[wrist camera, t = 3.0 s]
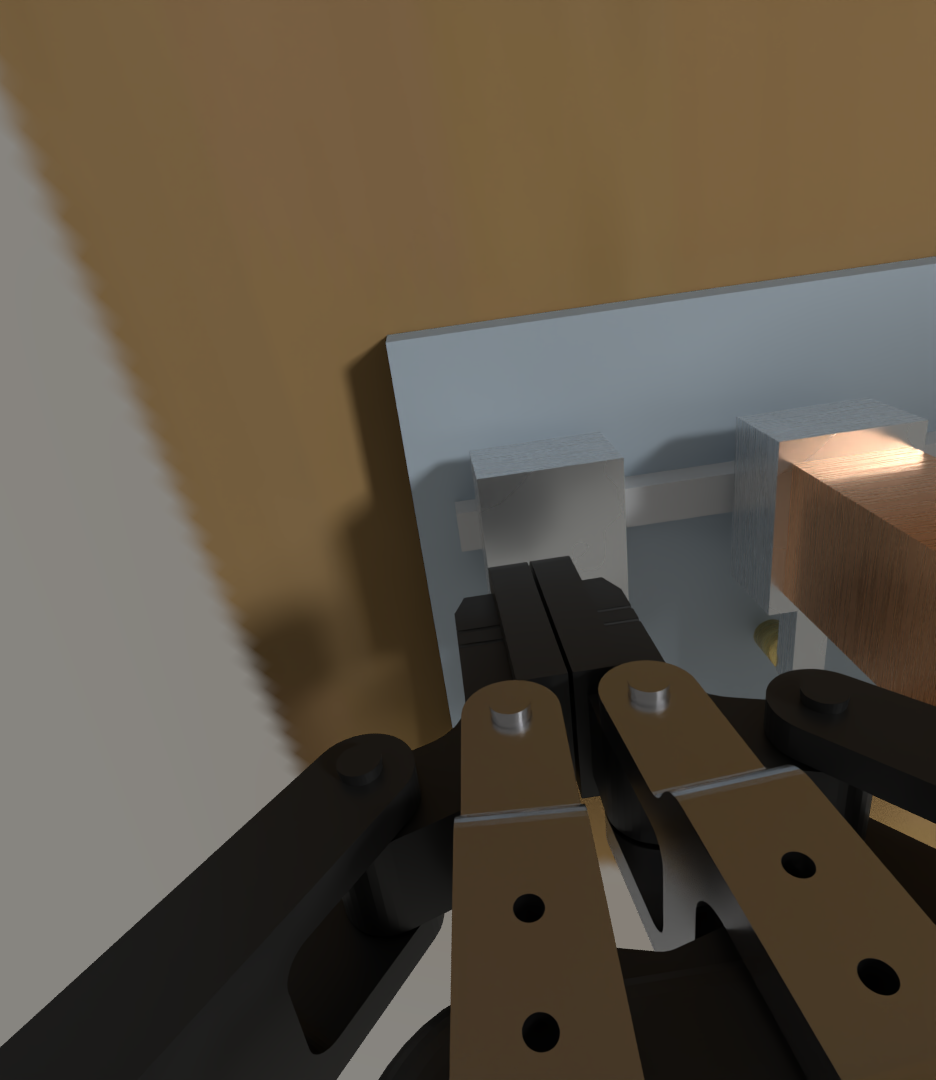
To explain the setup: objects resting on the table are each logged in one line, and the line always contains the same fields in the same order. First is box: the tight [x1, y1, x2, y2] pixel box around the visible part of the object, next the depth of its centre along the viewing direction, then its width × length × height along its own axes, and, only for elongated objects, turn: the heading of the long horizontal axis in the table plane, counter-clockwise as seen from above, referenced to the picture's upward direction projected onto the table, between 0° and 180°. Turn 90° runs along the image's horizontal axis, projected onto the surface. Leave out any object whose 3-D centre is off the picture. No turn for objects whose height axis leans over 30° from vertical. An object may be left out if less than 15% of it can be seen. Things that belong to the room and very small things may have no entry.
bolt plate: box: [386, 256, 936, 728], centre depth 18 cm, size 20×12×2 cm, turn 98°
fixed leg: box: [469, 432, 629, 601], centre depth 16 cm, size 3×7×2 cm, turn 7°
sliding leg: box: [731, 398, 936, 706], centre depth 14 cm, size 3×7×9 cm, turn 7°
